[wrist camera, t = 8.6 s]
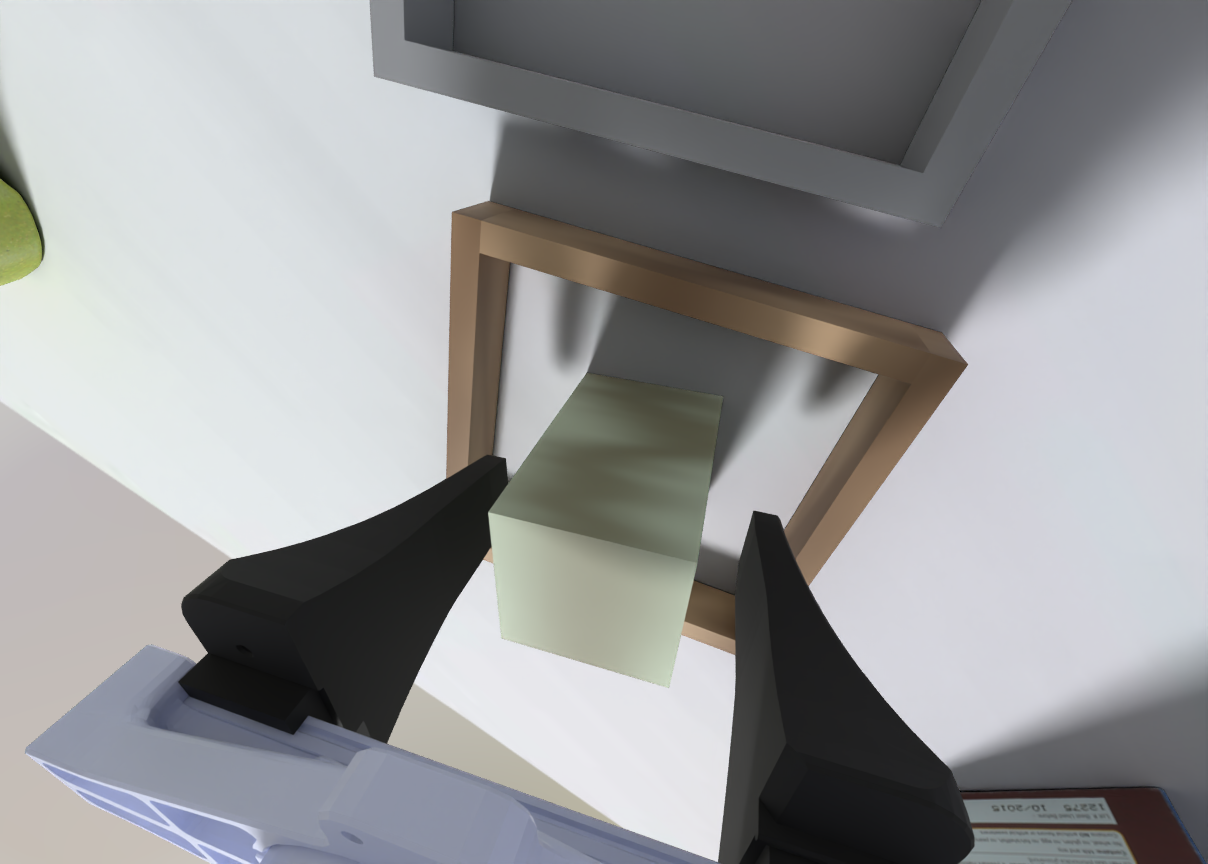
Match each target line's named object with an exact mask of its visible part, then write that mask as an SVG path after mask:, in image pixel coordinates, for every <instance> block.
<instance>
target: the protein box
mask: <svg viewBox="0 0 1208 864" xmlns="http://www.w3.org/2000/svg"><path fill="white" fill-rule="evenodd" d="M960 794H961V796H962V799H963V801H964V804H965V807H966V809H967V812H968V816H969V819H970V822H971V826H972V829H973V833H974V837H975V847H974V848H973V849H972V851H971V852H970V853H969V855H968V856H967V857H966V858H965V859H964V860H962V861H961V862H960V863H959V864H1206V862H1205V860H1204V859H1203V857H1202V855H1201V854H1200V852H1199V850H1198V849H1197V847H1196V845H1195V844H1194V842H1193V840H1192V839H1191V837H1190V835H1189V834H1188V832H1187V830H1186V829H1185V827H1184V825H1183V823H1182V821H1181V820H1180V818H1179V816H1178V814H1177V813H1176V811H1175V809H1174V807H1173V806H1172V804H1171V802H1170V800H1169V798H1168V796H1167V794H1166V793H1165V792H1164V790H1162V789H1160V788H1108V789H1066V790H1035V791H996V792H960Z"/></svg>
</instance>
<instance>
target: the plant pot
mask: <svg viewBox="0 0 1208 864" xmlns="http://www.w3.org/2000/svg"><path fill="white" fill-rule="evenodd" d="M41 259H42V247H41V241H40V237H39V233H38V230H37V228H36V225H35V222H34V219H33V216H32V214H31V212H30V210H29V208H28V206H27V204H26V203H25V202H24V200H23V199H22V197H21V195H20V194H19V193H18V192H17V191H16V190H14V189H13V188H11V187H10V186H9V185H7V184H6V183H5V182H4V181H2V180H1V179H0V286H1V285H4V284H7V283H10V282H13V281H16V280H19V279H21V278H23V277H25V276H26V275H28V274H29V273H31V272H32V271H33V270H35V269H36V268H37V267H38V266H39V265H40V263H41Z"/></svg>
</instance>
